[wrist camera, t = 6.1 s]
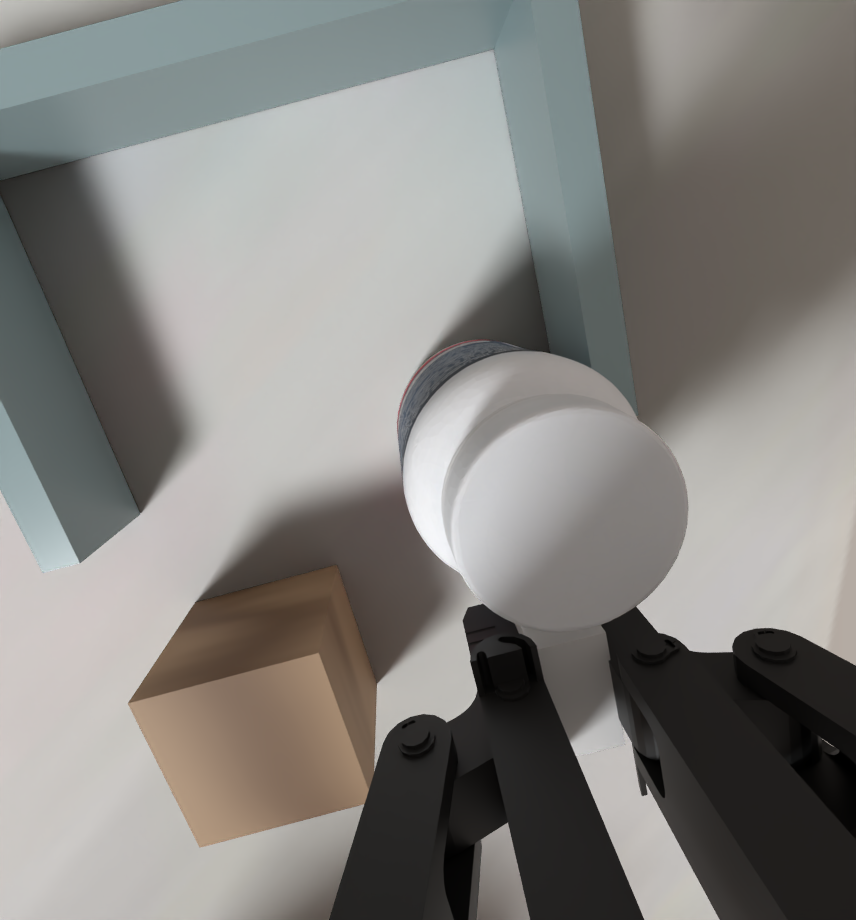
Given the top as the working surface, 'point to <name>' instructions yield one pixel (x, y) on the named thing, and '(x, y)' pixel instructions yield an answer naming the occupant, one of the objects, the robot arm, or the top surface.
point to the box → (249, 91)
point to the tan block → (263, 708)
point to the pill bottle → (538, 484)
